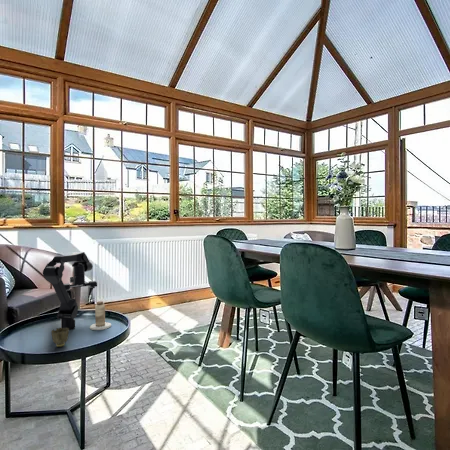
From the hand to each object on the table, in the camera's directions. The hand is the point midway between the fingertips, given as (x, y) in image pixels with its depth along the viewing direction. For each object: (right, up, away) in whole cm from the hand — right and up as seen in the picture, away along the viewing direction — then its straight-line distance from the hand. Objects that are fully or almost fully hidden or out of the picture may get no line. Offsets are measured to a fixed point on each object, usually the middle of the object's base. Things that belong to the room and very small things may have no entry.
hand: (79, 299), depth 195 cm
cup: (+8, -13, -39) cm, 42 cm away
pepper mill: (+16, -12, -10) cm, 22 cm away
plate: (+16, -13, -10) cm, 23 cm away
